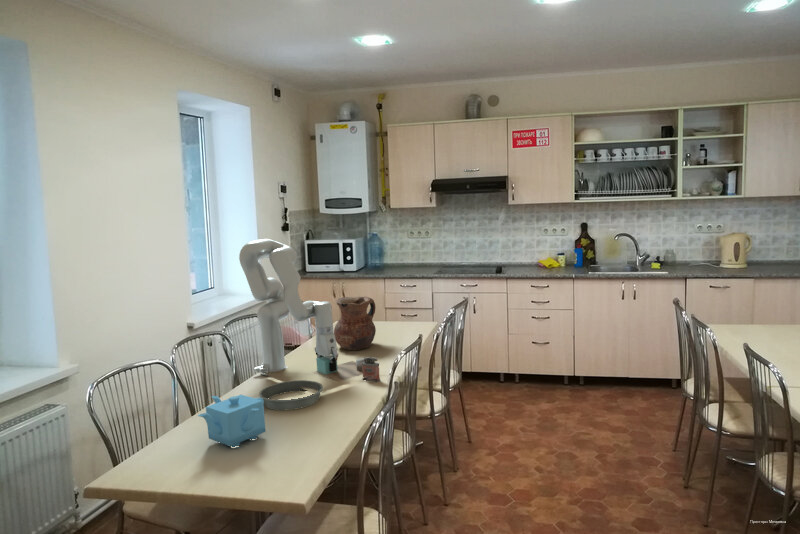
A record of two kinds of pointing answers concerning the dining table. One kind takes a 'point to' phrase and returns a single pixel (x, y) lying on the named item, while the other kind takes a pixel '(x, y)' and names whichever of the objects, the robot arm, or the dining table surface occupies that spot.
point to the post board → (346, 370)
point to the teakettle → (235, 419)
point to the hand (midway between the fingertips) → (327, 369)
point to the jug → (355, 323)
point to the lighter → (370, 369)
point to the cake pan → (288, 387)
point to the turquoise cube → (324, 365)
